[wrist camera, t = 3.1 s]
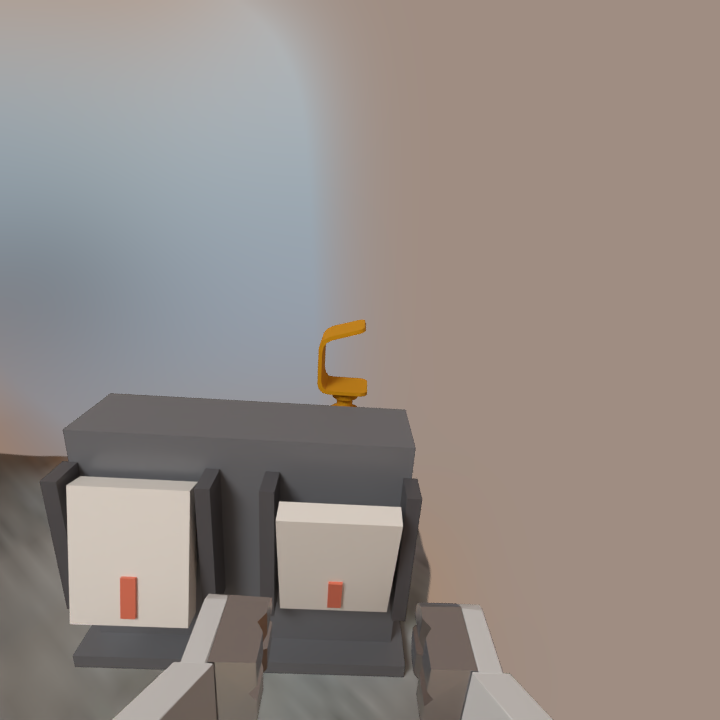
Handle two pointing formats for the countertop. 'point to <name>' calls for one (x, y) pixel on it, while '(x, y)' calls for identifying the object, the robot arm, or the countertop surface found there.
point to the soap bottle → (340, 386)
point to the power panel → (249, 514)
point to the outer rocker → (336, 555)
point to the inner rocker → (131, 552)
